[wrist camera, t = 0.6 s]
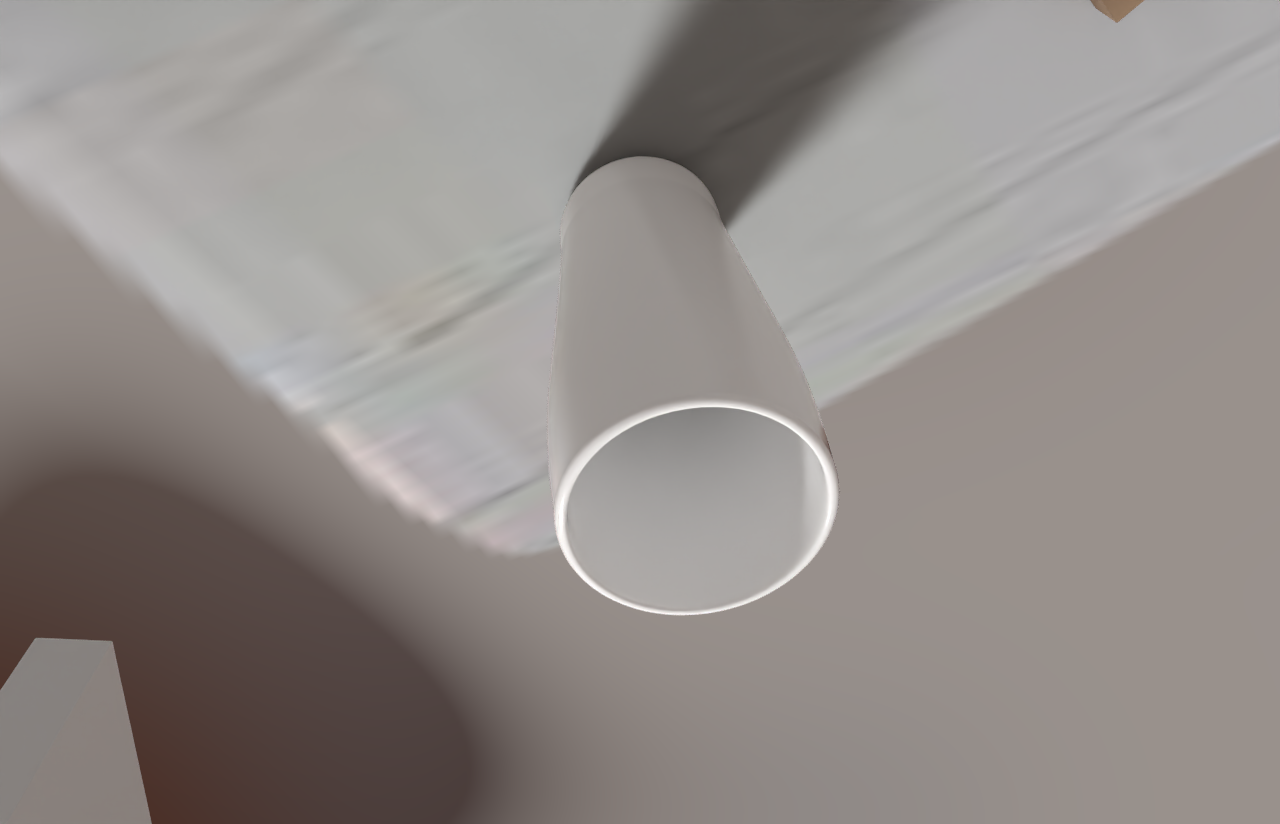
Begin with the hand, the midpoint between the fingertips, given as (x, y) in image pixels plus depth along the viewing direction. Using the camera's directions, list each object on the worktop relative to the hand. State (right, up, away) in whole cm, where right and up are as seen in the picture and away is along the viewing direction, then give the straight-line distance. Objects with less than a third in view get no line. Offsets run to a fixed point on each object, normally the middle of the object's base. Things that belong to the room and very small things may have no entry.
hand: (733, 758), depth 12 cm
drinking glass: (-1, +10, +26) cm, 28 cm away
